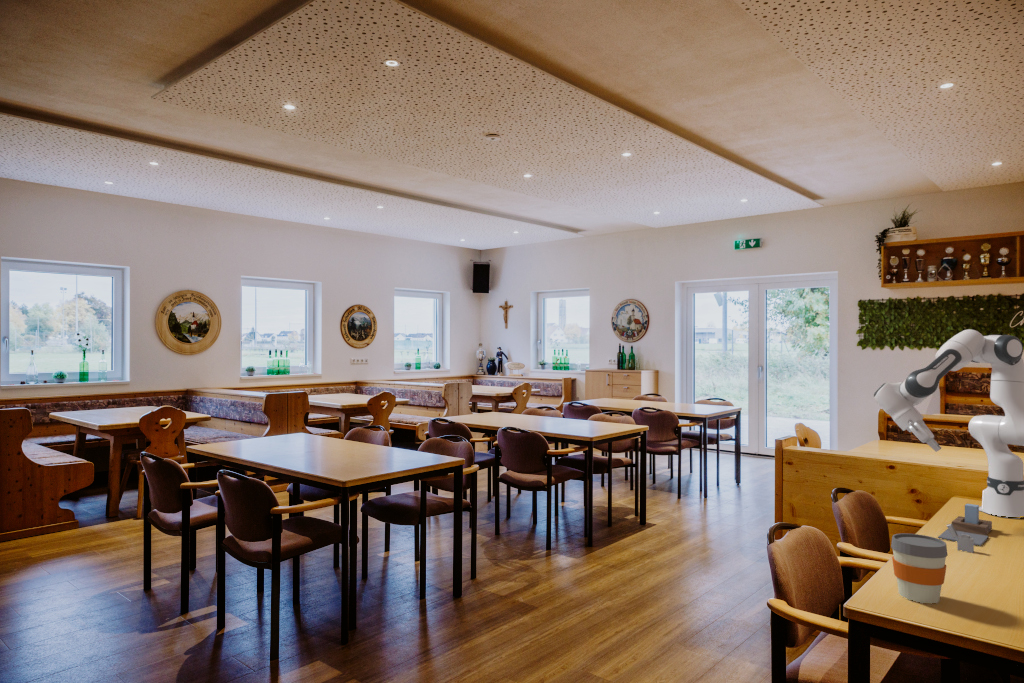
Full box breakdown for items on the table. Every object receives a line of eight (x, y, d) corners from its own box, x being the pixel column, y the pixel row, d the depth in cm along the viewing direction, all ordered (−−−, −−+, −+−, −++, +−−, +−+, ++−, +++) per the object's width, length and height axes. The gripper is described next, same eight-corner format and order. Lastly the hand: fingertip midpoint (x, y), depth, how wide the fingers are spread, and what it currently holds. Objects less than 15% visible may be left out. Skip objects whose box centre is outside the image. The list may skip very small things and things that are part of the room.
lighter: (973, 551, 205) (973, 527, 206) (972, 553, 204) (972, 528, 204) (947, 546, 210) (947, 522, 211) (946, 548, 209) (946, 523, 209)
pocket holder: (958, 524, 238) (958, 516, 238) (991, 529, 231) (991, 521, 231) (951, 530, 230) (951, 522, 230) (985, 536, 223) (985, 527, 223)
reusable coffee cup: (895, 584, 176) (895, 530, 176) (950, 596, 168) (950, 539, 168) (887, 598, 166) (887, 540, 167) (944, 611, 158) (944, 550, 159)
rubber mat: (947, 530, 230) (947, 528, 230) (988, 537, 221) (988, 536, 221) (938, 538, 220) (938, 536, 220) (980, 546, 211) (980, 544, 211)
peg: (966, 528, 233) (966, 503, 233) (978, 530, 231) (978, 505, 231) (964, 530, 231) (964, 505, 231) (976, 532, 228) (976, 506, 228)
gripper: (915, 415, 234) (945, 446, 228) (919, 415, 250) (947, 444, 244) (900, 425, 237) (929, 456, 230) (905, 425, 253) (933, 454, 247)
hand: (939, 450), depth 237 cm, fingers open, 8 cm apart
